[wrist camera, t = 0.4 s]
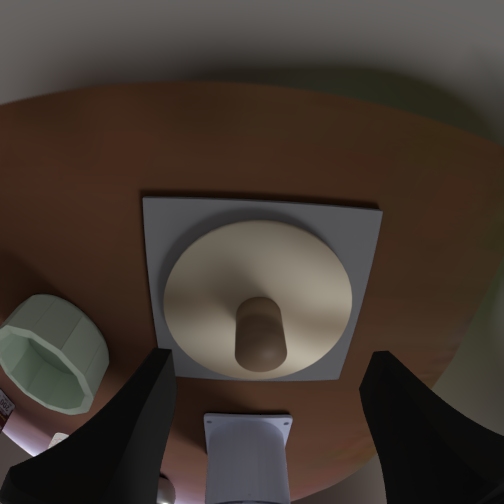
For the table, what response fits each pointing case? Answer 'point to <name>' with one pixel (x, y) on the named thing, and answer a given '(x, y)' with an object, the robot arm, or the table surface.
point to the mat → (232, 210)
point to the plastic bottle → (165, 492)
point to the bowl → (54, 353)
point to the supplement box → (5, 409)
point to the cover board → (251, 276)
